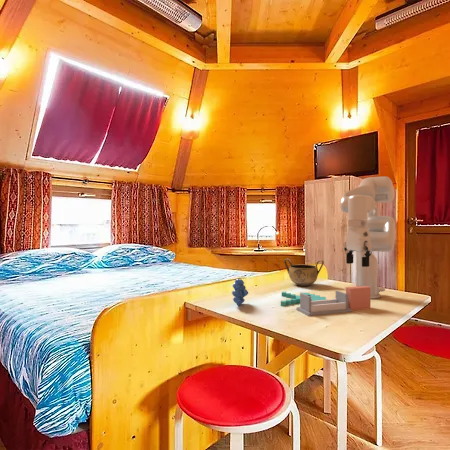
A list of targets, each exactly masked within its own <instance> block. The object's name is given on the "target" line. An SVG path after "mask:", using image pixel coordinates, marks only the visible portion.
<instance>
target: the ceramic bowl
mask: <svg viewBox="0 0 450 450" xmlns="http://www.w3.org/2000/svg"><path fill="white" fill-rule="evenodd" d="M287 262H288V263H289V266H288V263H287ZM320 262H321V264H320V267H319V269H318V265H319V263H320ZM283 263H284V266H285V267H286V271H287V273H288V276H289V279H290V280H291V282H292V283H294V284H295V285H296V286H301V287H309V286H311V285H313V284H314V283H315V282H317V279H318V276H319V274H320V272H321V270H322V268H323V267H324V263H325V262H324V259H318V261H317V262H316V263H315V265H313V264H302V263H300V264H298V263H296V264H293V262H292V260H291V259H290V258H285V259H284V260H283Z"/></svg>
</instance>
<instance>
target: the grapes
mask: <svg viewBox="0 0 450 450" xmlns="http://www.w3.org/2000/svg"><path fill="white" fill-rule="evenodd" d="M244 284H245V282H244V281H243V280H242V279H240V278H236V279H235V281H234V283H233V284H232V288H233V290H232V291H231V294H232V297H233V298H232V300H233V302H234V303H235V304H236V305H237V306H238V307H239V306H241V305H242V304H244V302H245V297H246V296H248V295H249V290H248V289H246V285H244Z"/></svg>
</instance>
